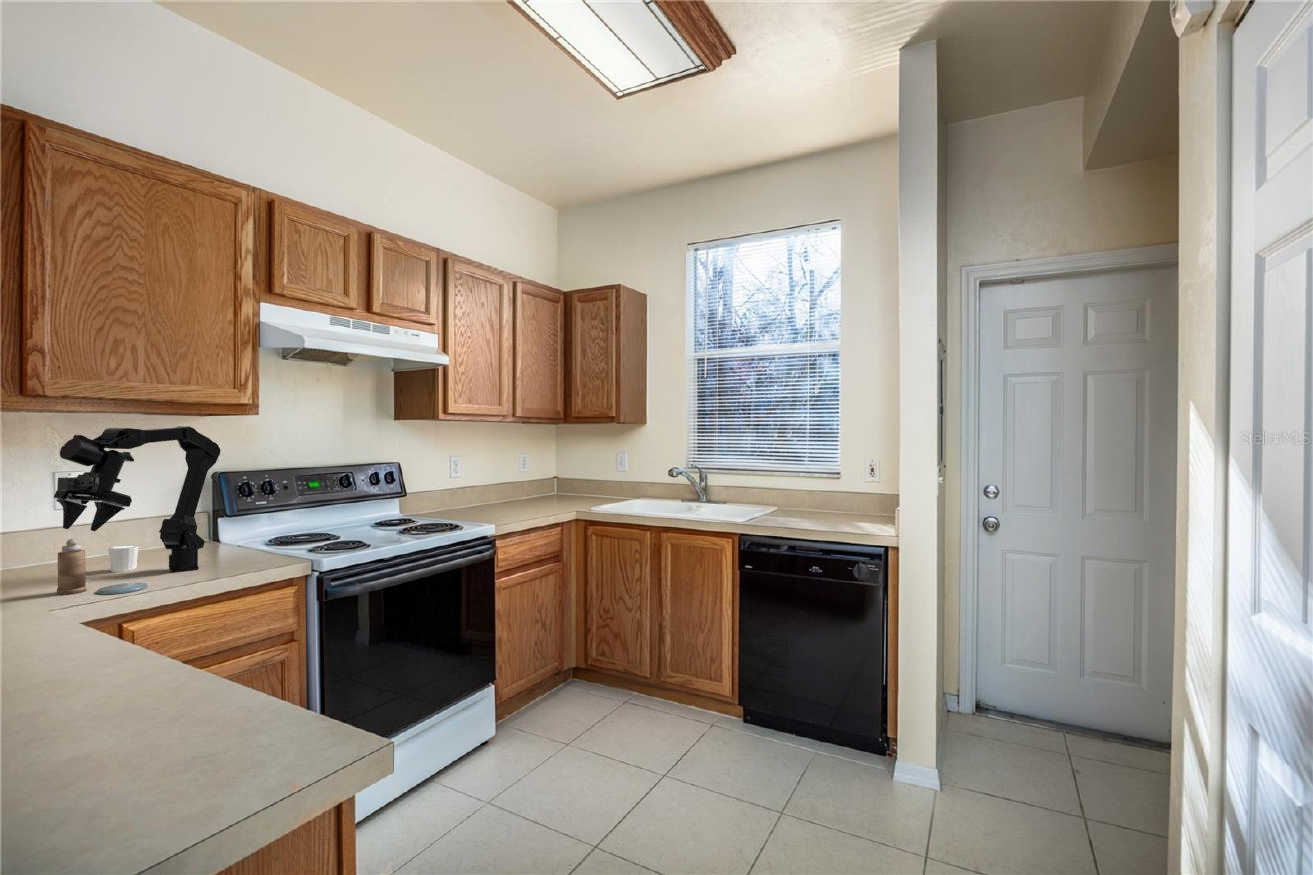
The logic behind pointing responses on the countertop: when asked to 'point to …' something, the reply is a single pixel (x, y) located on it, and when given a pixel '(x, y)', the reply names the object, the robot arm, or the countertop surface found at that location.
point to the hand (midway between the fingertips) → (79, 529)
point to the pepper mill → (71, 569)
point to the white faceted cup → (123, 557)
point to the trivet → (121, 588)
